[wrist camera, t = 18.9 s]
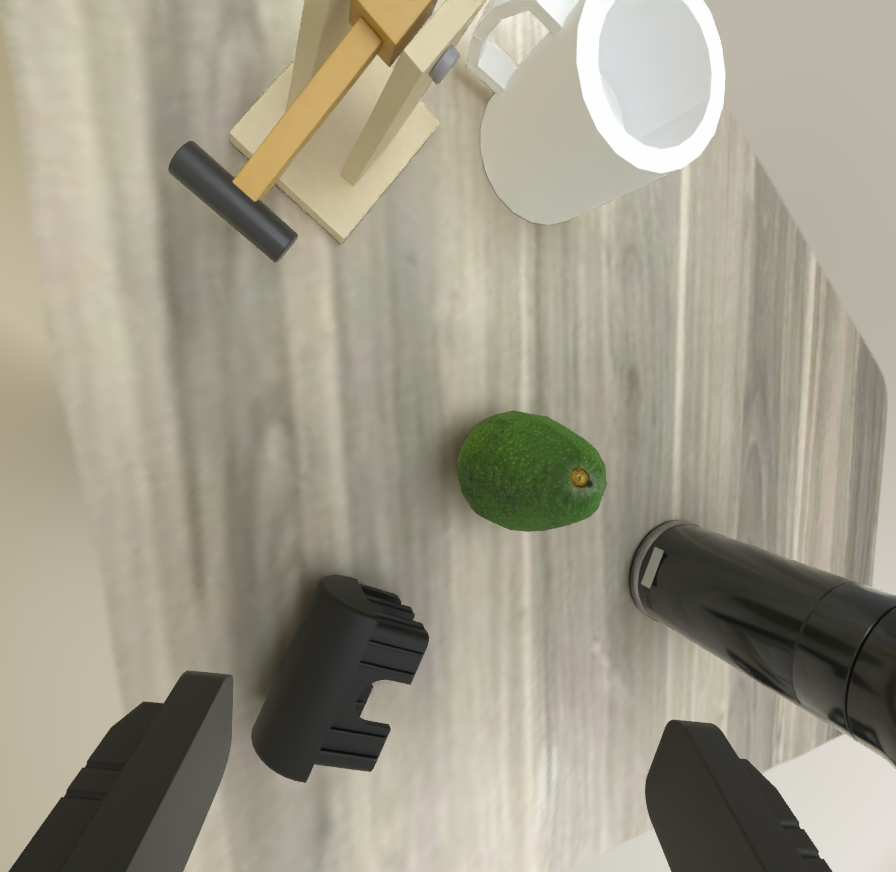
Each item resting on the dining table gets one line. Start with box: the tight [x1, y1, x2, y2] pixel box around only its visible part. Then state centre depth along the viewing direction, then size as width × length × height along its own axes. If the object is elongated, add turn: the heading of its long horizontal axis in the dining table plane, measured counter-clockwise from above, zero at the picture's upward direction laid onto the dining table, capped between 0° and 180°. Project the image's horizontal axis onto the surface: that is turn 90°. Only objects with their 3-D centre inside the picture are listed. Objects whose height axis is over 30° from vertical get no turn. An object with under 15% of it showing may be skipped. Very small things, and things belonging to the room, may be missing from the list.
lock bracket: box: [229, 0, 486, 243], centre depth 24 cm, size 10×8×14 cm
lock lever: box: [168, 0, 437, 262], centre depth 20 cm, size 12×5×2 cm, turn 140°
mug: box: [466, 0, 726, 225], centre depth 30 cm, size 14×10×11 cm
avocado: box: [456, 411, 607, 532], centre depth 32 cm, size 8×8×12 cm
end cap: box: [251, 575, 429, 783], centre depth 31 cm, size 10×7×7 cm
